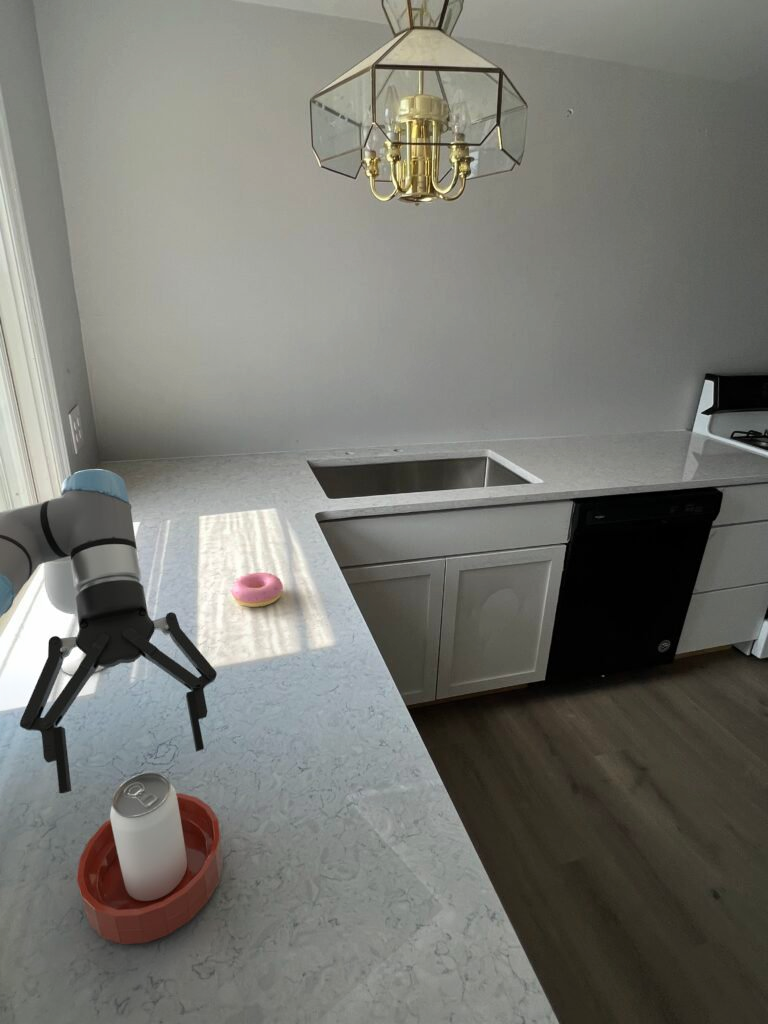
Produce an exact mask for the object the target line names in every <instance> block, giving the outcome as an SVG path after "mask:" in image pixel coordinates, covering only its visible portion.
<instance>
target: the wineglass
mask: <svg viewBox="0 0 768 1024" xmlns="http://www.w3.org/2000/svg"><path fill="white" fill-rule="evenodd" d="M43 583H44V589H45V592H46V596H47V598H48V601H49V602H50V604H51V605H52V607H54V608H55V609H56V610H58V611H60V612H61V613H64V614H68V615H73V616H74V617H75V618H76V620H77V623H78V625H79V622H78V614H77V605H76V596H77V595H78V593H77V592H76V591H75V589H74V581H73V573H72V565H71V556H68V557H65V558H61V559H57V560H53V561H49V562H46V563H43ZM85 656H86V654H85V653H84V652H82V651H81V650H80V649H79V648H78V649H76V650H75V651H73V652H71V653H70V655H69V656H68V657H65V658H64V659H63V664H62V667H61V670H62V671H63V672H64V673H66V674H68V675H72V676H73V675H74V673H75V672H76V670H77V669H78V667H79V665H80V663H81V662H82V660H83V659H84V657H85ZM105 668H106V667H102V666H98V668H97V669H96V671H95V672H94V673H96V672H99V671H101V670H103V669H105Z"/></svg>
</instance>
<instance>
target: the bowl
mask: <svg viewBox="0 0 768 1024" xmlns="http://www.w3.org/2000/svg"><path fill="white" fill-rule="evenodd" d="M176 795H177V801H178V806H179V812H180V819H181V825H182V831H183V838H184V844H185V851H186V858H187V868H186V872H185V874H184V877H183V878H182V880H181V881H180V883H179V884H178V885H177V886H176V887H175V888H174V889H173V890H172V891H171V892H170V893H168V894H167V895H165V896H163V897H161V898H159V899H156V900H151V901H140V900H137V899H134V898H133V897H131V896H130V895H129V894H128V892H127V890H126V887H125V884H124V880H123V875H122V871H121V866H120V862H119V857H118V853H117V848H116V844H115V839H114V834H113V830H112V825H111V819H110V818H108V819H107V820H106V821H104V822H103V823H102V824H101V826H100V827H99V828H98V829H97V830H96V832H95V833H94V834H93V835H92V836H91V837H90V838H89V840H88V842H87V844H86V846H85V848H84V849H83V851H82V853H81V856H80V858H79V860H78V867H77V873H76V882H77V886H78V890H79V894H80V898H81V903H82V905H83V910H84V913H85V916H86V919H87V923H88V925H89V926H90V927H91V928H92V929H93V930H94V931H95V933H96V934H98V936H100V937H101V938H102V939H104V940H107V941H110V942H114V943H116V944H119V945H130V944H133V945H134V944H146V943H149V942H152V941H155V940H157V939H160V938H163V937H166V936H169V935H170V934H172V933H174V932H175V931H176V930H178V929H179V928H181V927H183V926H184V925H186V924H187V923H189V922H190V921H191V920H192V919H193V918H195V916H196V915H197V914H198V913H199V912H200V911H201V910H202V909H203V908H204V907H205V905H206V904H207V903H208V902H209V900H210V899H211V897H212V895H213V894H214V891H215V890H216V888H217V886H218V885H219V882H220V879H221V876H222V869H223V866H224V855H223V847H222V840H221V833H220V824H219V819H218V817H217V815H216V813H215V812H214V811H213V809H212V807H211V806H210V805H208V803H206V802H205V801H203V800H201V799H200V798H198V797H197V796H193V795H190V794H185V793H182V792H178V793H177V792H176Z"/></svg>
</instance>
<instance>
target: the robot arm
mask: <svg viewBox="0 0 768 1024" xmlns="http://www.w3.org/2000/svg"><path fill="white" fill-rule="evenodd" d="M60 493H61V496H57V497H53V498H51V499H48V500H45V501H41V502H40V501H39V502H36V503H33V504H28V505H23V506H19V507H15V508H10V509H5V510H2V511H0V619H1V618H2V616H4V615H5V614H7V613H8V611H10V609H11V608H12V606H13V604H14V601H15V599H16V598H17V596H18V595H19V593H20V592H21V590H22V589H23V587H24V586H25V584H27V582H29V580H30V578H31V577H32V575H33V574H34V573H35V571H36V570H37V568H38V567H39V566H40V565H42V564H44V563H46V562H49V561H53V560H57V559H61V558H65V557H68V556H71V565H72V573H73V581H74V589H75V591H76V592H77V593H78V595H77V596H76V605H77V614H78V621H77V623H78V622H79V624H78V632H77V635H76V636H70V637H61V638H60V636H59V635H53V636H51V637H50V638H49V639H48V643H47V644H48V647H47V658H46V660H45V663H44V665H43V668H42V671H41V672H40V675H39V676H38V679H37V681H36V684H35V686H34V688H33V691H32V693H31V695H30V698H29V700H28V702H27V705H26V707H25V709H24V712H23V714H22V716H21V719H20V721H19V726H20V727H21V728H22V729H24V730H26V731H37V732H40V733H41V741H42V753H43V759H44V761H45V762H46V763H48V764H50V763H54V762H55V763H56V773H57V784H58V793H59V794H66V793H68V792H72V783H71V775H70V765H69V763H70V762H69V755H68V745H67V735H66V728H65V727H63V726H61V725H60V726H58V725H59V724H60V722H61V721H62V720H63V718H64V717H65V715H66V714H67V712H68V711H69V709H70V707H72V704H73V703H74V702H75V700H76V699H77V697H78V696H79V694H80V693H81V692H82V690H83V688H84V687H85V685H86V684H87V683H88V682H89V679H90V678H91V677H92V676H94V674H95V673H96V672H97V671H96V669H97V668H98V666H102V667H105V668H106V669H109V668H113V667H116V666H119V665H120V664H131V663H134V662H136V660H138V659H139V658H141V657H143V658H144V659H146V660H147V661H148V662H150V663H152V664H154V665H155V666H156V667H158V668H160V669H161V670H162V671H163V672H165V673H167V674H168V675H169V676H171V677H172V678H173V679H174V680H176V681H177V682H179V683H180V684H181V685H183V686H185V687H186V688H187V689H188V690H190V691H187V692H186V693H185V698H186V704H187V709H188V716H189V721H190V726H191V731H192V732H191V733H192V738H193V742H194V743H193V744H194V748H195V752H200V751H203V750H204V749H205V746H204V740H203V735H202V730H201V723H200V720H202V719H205V718H207V716H208V707H207V701H206V696H205V691H204V689H205V688H206V687H207V686H209V685H210V684H212V683H213V682H215V680H216V678H217V674H218V673H217V671H216V670H215V669H214V667H213V666H212V665H211V664H210V662H209V661H208V659H206V658H205V656H204V655H203V654H202V653H201V652H200V650H199V649H198V647H196V645H195V644H194V643H193V641H192V640H191V639H190V638H189V637H188V636H187V634H186V633H185V632H184V631H183V630H182V628H181V627H180V623H179V620H178V617H177V613H175V612H172V611H170V612H168V613H167V614H166V615H165V616H163V617H160V618H157V619H154V620H152V619H151V617H150V615H149V612H148V605H147V599H146V593H145V587H144V585H143V584H142V583H141V582H142V581H143V576H142V575H143V574H142V570H141V563H140V557H139V552H138V547H137V542H136V536H135V535H136V534H135V529H134V522H133V521H134V520H133V514H132V504H131V503H130V500H129V495H128V492H127V486H126V483H125V480H124V478H123V477H121V476H120V475H119V474H117V473H116V472H113V471H110V470H108V469H100V468H93V469H92V468H90V469H84V470H79V471H76V472H74V473H73V474H72V475H69V476H67V477H66V478H65V479H64V481H63V482H62V485H61V492H60ZM155 631H160V633H162V635H164V636H168V635H169V637H170V639H171V640H172V642H173V643H174V644H175V645H176V647H177V648H178V650H180V651H181V653H182V655H184V657H185V658H186V659H187V660H188V661H189V663H190V664H191V665H192V666H193V667H194V669H195V670H196V671H197V672H198V674H199V675H200V676H199V677H198V676H196V675H195V674H193V673H192V672H191V671H189V670H188V669H186V668H185V667H184V666H182V665H181V664H179V663H178V662H177V661H175V660H174V659H172V658H171V657H170V656H168V655H167V654H166V653H164V652H163V651H161V650H160V649H159V648H158V647H157V646H156V645H155V644H153V643H151V642H150V640H151V639H152V637H153V635H154V633H155ZM75 648H78V649H80V650H81V651H82V652H84V653H85V654H86V656H85V657H84V659H83V660H82V662H81V663H80V665H79V667H78V669H77V670H76V672H75V673H74V675H72V676H71V678H70V679H69V680H68V682H67V683H66V685H65V686H64V688H63V689H62V691H61V692H60V693H59V695H58V696H57V698H56V699H55V700H54V701H53V704H52V705H51V706H50V707H49V709H48V710H47V712H46V713H45V715H44V717H41V716H42V715H43V712H44V710H45V708H46V705H47V703H48V700H49V697H50V695H51V693H52V691H53V688H54V686H55V683H56V681H57V678H58V676H59V674H60V671H61V670H62V664H63V661H64V659H65V658H66V657H68V656H69V655H70V654H71V653H72V650H73V649H75ZM95 671H96V672H95Z"/></svg>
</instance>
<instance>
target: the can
mask: <svg viewBox="0 0 768 1024" xmlns="http://www.w3.org/2000/svg"><path fill="white" fill-rule="evenodd" d="M176 793H177V792H176V789H175V787H174V786H173V784H171V781H170V779H169V778H168V777H167V776H166V775H165V774H163V773H160V772H157V771H146V772H141V773H138V774H136V775H134V776H131V777H129V778H128V779H126V780H125V781H124V782H123V783H121V785H120V786H118V787H117V788H116V790H115V792H114V794H113V796H112V799H111V800H112V801H111V808H110V813H109V819H111V825H112V830H113V834H114V839H115V844H116V848H117V853H118V857H119V862H120V866H121V871H122V875H123V880H124V884H125V887H126V890H127V892H128V894H129V895H130V896H131V897H133V898H134V899H137V900H140V901H151V900H156V899H159V898H161V897H163V896H165V895H167V894H168V893H170V892H171V891H172V890H173V889H174V888H175V887H176V886H177V885H178V884H179V883H180V881H181V880H182V878H183V877H184V874H185V872H186V868H187V858H186V851H185V844H184V838H183V831H182V825H181V819H180V812H179V806H178V801H177V795H176Z"/></svg>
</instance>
